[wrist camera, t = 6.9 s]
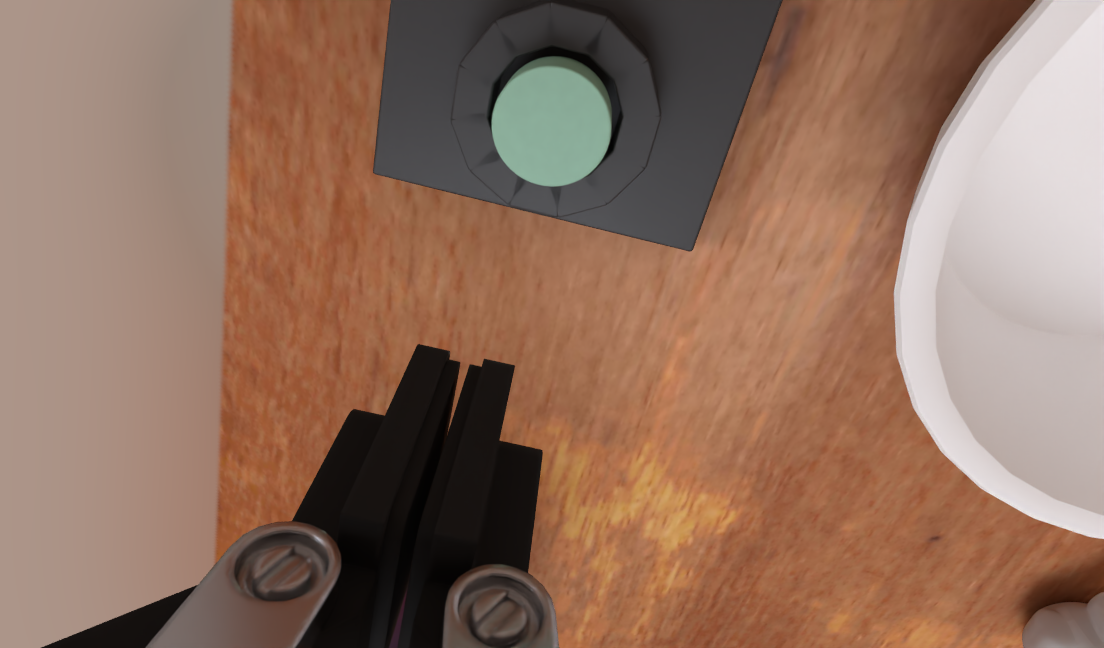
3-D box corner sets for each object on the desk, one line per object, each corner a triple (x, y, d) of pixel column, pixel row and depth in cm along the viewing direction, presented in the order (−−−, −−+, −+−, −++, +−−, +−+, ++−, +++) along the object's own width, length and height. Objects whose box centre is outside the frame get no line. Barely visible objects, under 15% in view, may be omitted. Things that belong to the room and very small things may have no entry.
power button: (511, 42, 22) (503, 51, 20) (625, 71, 22) (625, 83, 20) (490, 155, 24) (481, 171, 22) (595, 181, 24) (594, 199, 22)
